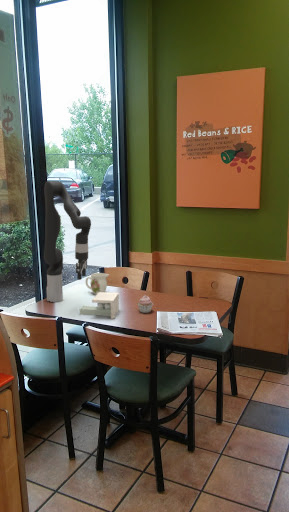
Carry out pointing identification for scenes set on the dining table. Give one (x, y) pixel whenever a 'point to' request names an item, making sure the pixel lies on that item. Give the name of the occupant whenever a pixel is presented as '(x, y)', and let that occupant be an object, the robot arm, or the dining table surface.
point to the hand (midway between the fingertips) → (81, 277)
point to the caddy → (97, 309)
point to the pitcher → (97, 282)
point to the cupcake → (145, 304)
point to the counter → (108, 301)
